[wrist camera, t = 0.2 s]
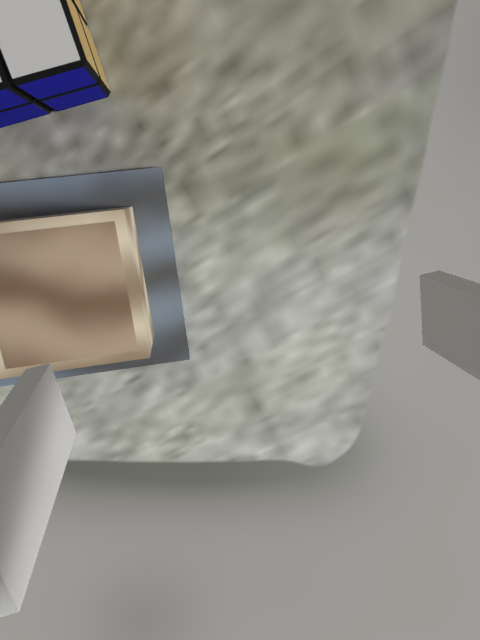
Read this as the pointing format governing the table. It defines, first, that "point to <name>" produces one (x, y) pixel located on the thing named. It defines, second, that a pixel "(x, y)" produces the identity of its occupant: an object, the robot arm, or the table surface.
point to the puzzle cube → (46, 59)
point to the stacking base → (88, 275)
